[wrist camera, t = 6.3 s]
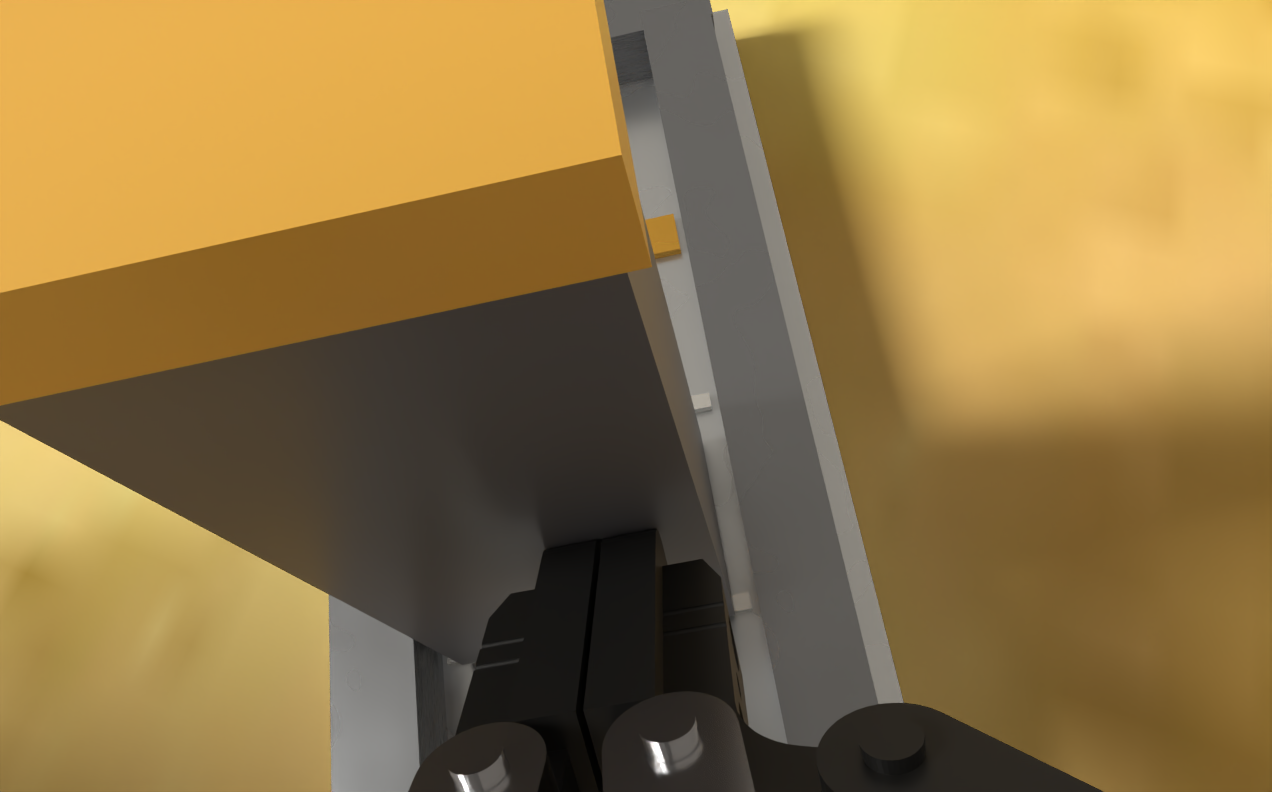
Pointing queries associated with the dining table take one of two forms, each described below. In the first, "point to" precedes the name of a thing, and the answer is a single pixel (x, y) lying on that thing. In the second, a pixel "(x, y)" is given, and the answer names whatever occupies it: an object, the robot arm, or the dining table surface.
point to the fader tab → (347, 288)
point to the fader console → (727, 417)
